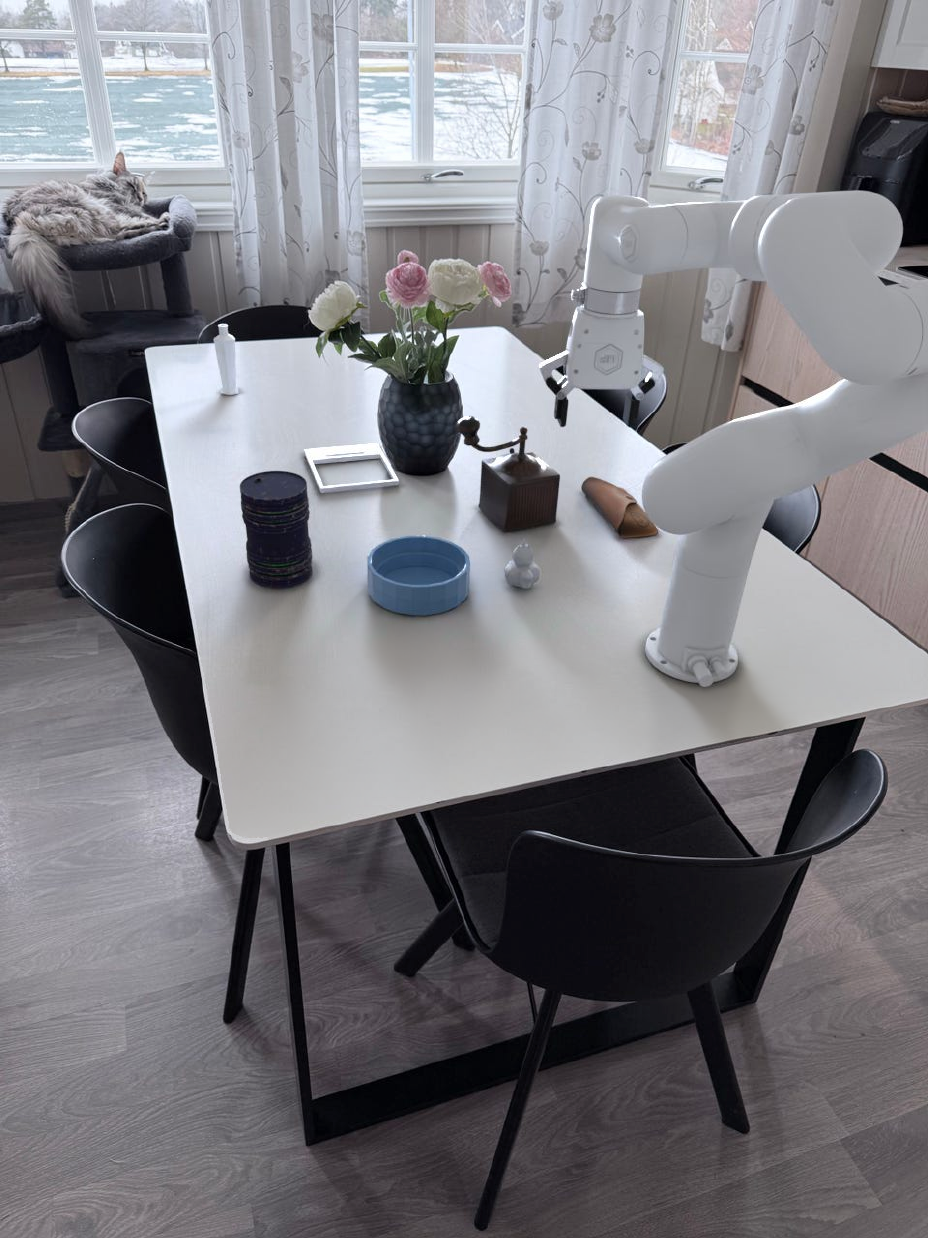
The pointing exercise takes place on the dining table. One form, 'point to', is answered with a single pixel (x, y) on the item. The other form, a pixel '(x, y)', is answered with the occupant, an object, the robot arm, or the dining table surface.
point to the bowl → (418, 575)
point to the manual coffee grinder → (514, 483)
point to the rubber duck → (522, 567)
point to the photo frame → (348, 455)
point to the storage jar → (277, 529)
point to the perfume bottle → (226, 360)
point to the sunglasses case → (619, 509)
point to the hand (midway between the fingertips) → (594, 423)
